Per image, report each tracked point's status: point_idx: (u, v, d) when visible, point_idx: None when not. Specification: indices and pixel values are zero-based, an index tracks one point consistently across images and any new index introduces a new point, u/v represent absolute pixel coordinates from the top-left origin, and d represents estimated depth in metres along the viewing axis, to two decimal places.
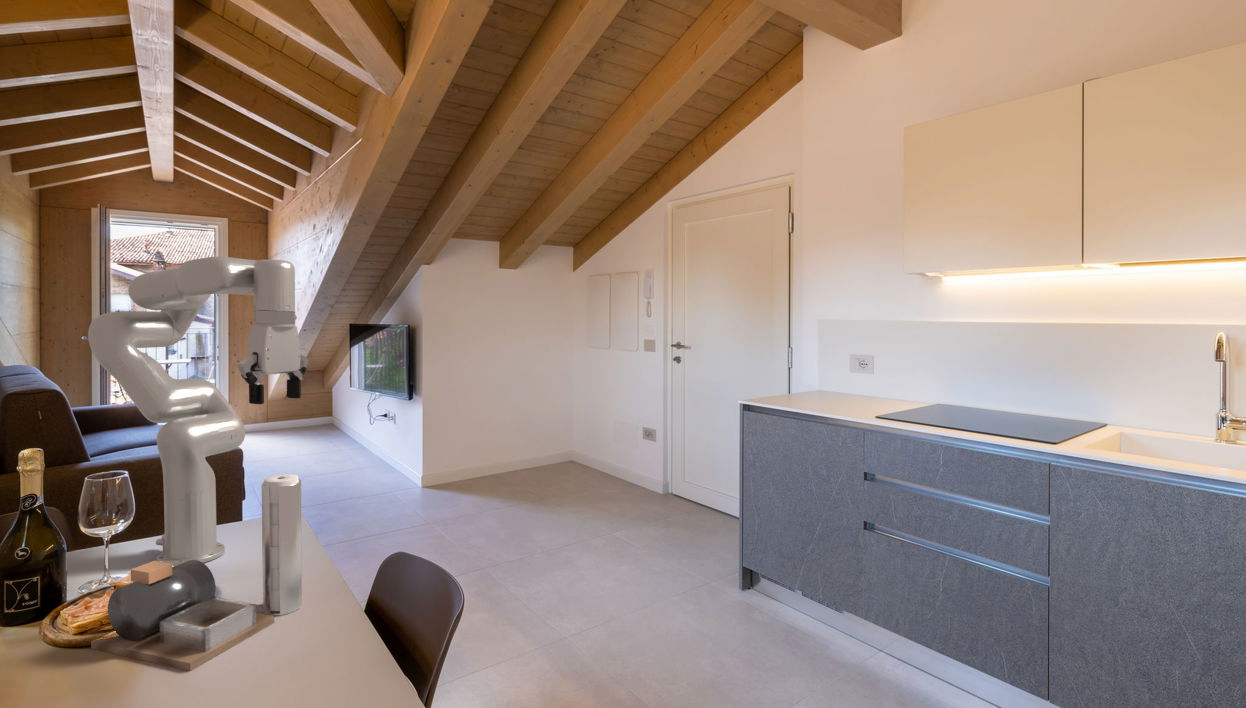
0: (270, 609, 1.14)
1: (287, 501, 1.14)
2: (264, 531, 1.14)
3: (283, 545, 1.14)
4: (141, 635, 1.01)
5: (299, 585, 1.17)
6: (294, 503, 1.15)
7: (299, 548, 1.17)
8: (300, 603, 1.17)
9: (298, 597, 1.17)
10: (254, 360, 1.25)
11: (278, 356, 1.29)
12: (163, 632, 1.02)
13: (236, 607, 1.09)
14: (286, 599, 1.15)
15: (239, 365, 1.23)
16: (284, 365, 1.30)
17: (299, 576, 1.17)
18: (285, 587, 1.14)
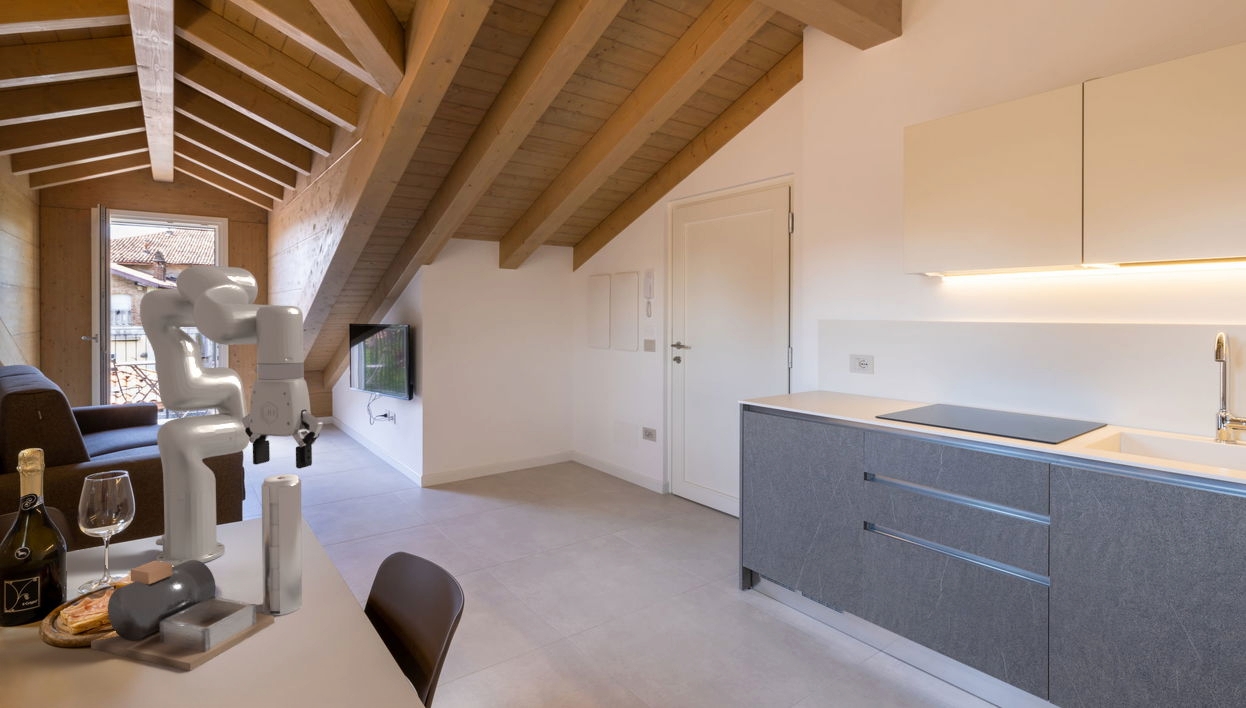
0: (270, 609, 1.14)
1: (287, 501, 1.14)
2: (264, 531, 1.14)
3: (283, 545, 1.14)
4: (141, 635, 1.01)
5: (299, 585, 1.17)
6: (294, 503, 1.15)
7: (299, 548, 1.17)
8: (300, 603, 1.17)
9: (298, 597, 1.17)
10: None
11: None
12: (163, 632, 1.02)
13: (236, 607, 1.09)
14: (286, 599, 1.15)
15: (319, 424, 1.12)
16: None
17: (299, 576, 1.17)
18: (285, 587, 1.14)
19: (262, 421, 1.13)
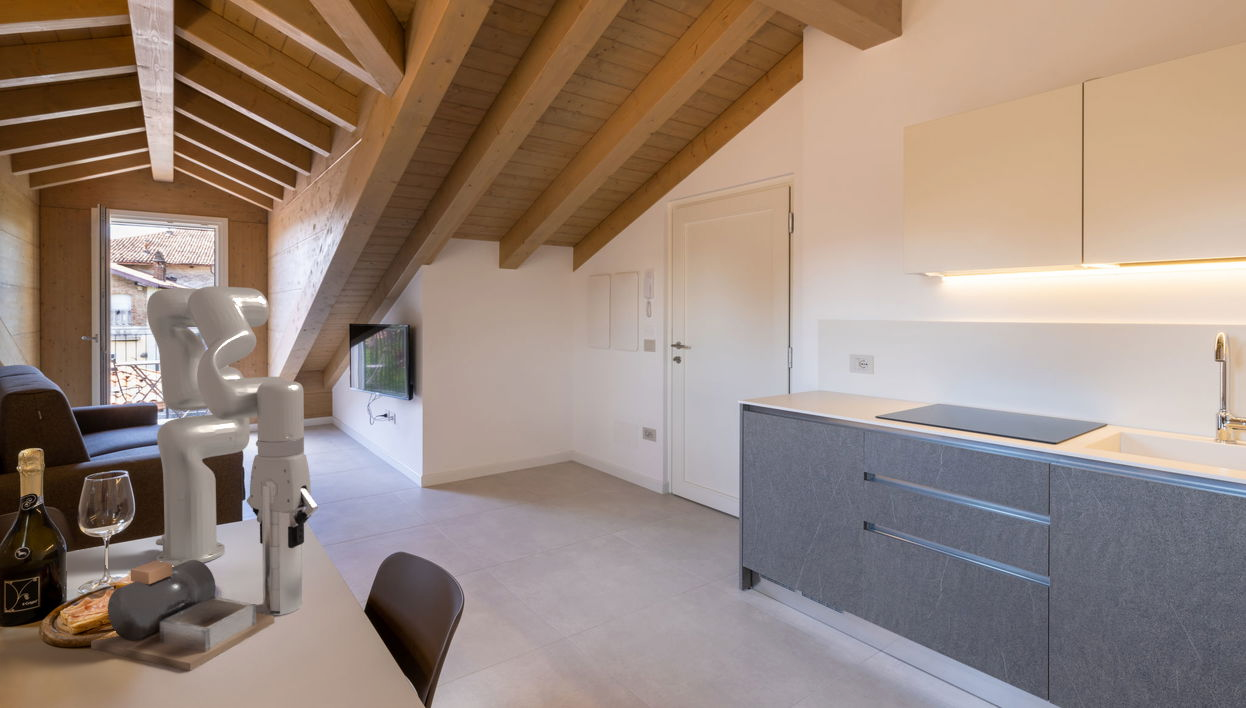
0: (270, 609, 1.14)
1: None
2: (264, 531, 1.14)
3: (283, 545, 1.14)
4: (141, 635, 1.01)
5: (299, 585, 1.17)
6: None
7: (299, 548, 1.17)
8: (300, 603, 1.17)
9: (298, 597, 1.17)
10: None
11: None
12: (163, 632, 1.02)
13: (236, 607, 1.09)
14: (286, 599, 1.15)
15: (314, 509, 1.14)
16: None
17: (299, 576, 1.17)
18: (285, 587, 1.14)
19: (262, 497, 1.14)
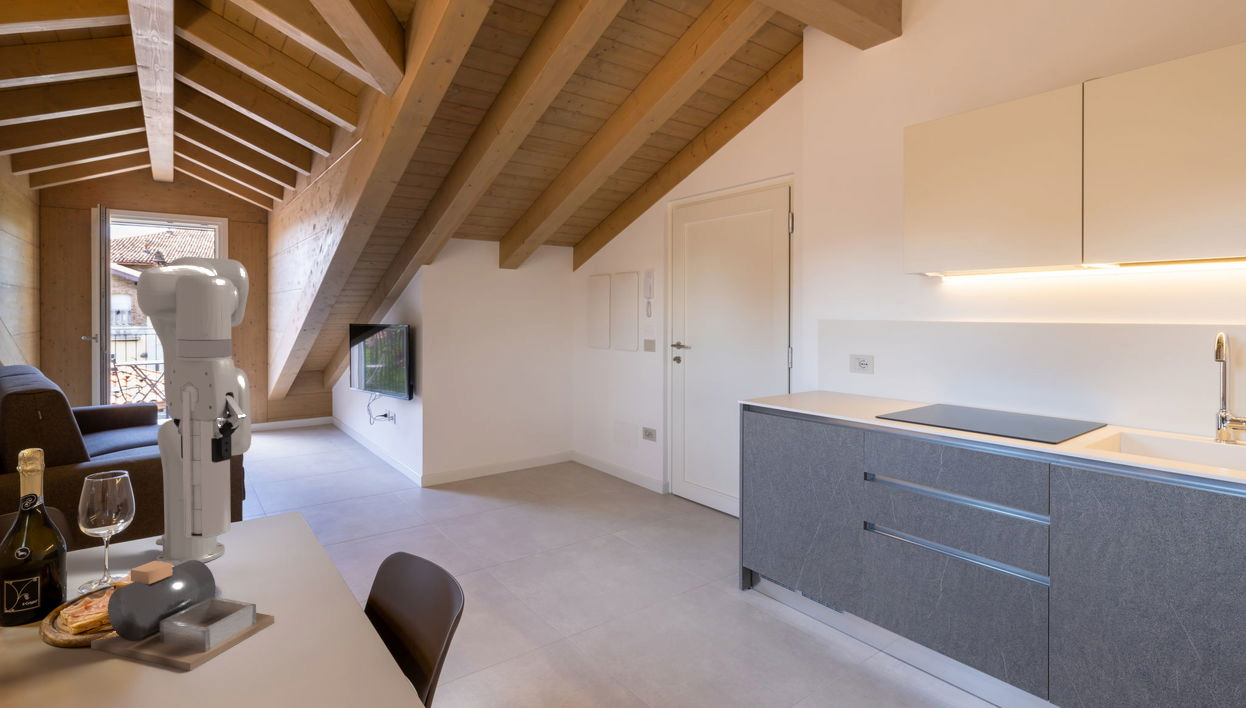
0: (191, 531, 1.01)
1: None
2: (184, 442, 1.01)
3: (206, 459, 1.01)
4: (141, 635, 1.01)
5: (226, 506, 1.04)
6: None
7: (226, 464, 1.04)
8: (227, 527, 1.05)
9: (225, 519, 1.04)
10: None
11: None
12: (163, 632, 1.02)
13: (236, 607, 1.09)
14: (209, 520, 1.02)
15: (241, 418, 1.01)
16: None
17: (226, 496, 1.04)
18: (208, 506, 1.02)
19: (182, 404, 1.01)
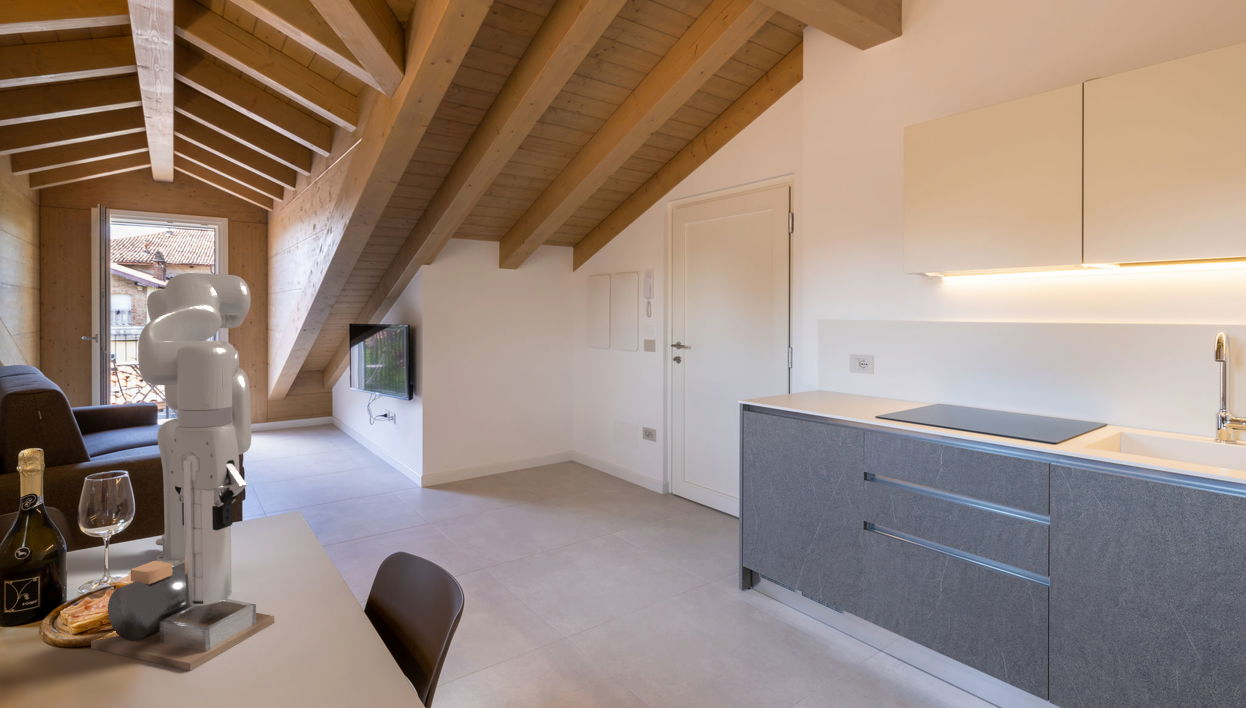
0: (192, 599, 1.02)
1: None
2: (185, 511, 1.01)
3: (207, 527, 1.01)
4: (141, 635, 1.01)
5: (227, 572, 1.05)
6: None
7: (227, 531, 1.04)
8: (228, 592, 1.05)
9: (226, 585, 1.04)
10: None
11: None
12: (163, 632, 1.02)
13: (236, 607, 1.09)
14: (210, 588, 1.02)
15: (242, 486, 1.02)
16: None
17: (227, 562, 1.04)
18: (209, 574, 1.02)
19: (183, 473, 1.01)
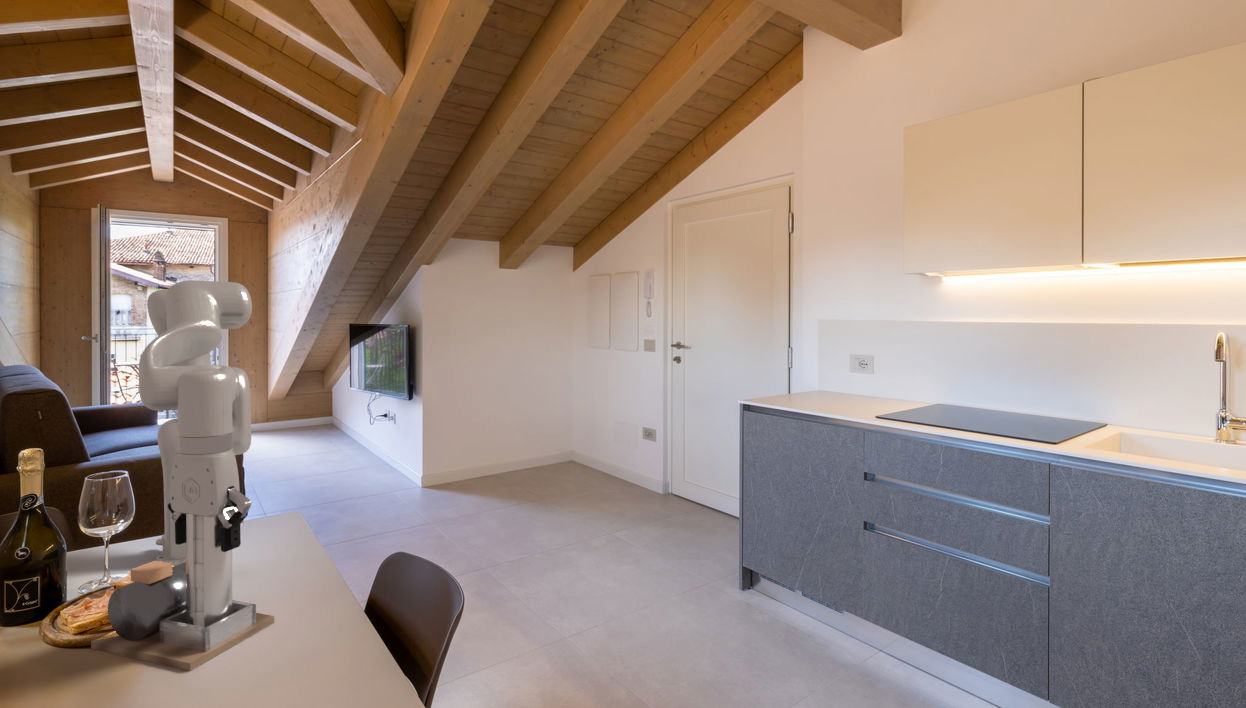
0: None
1: None
2: (188, 546, 1.02)
3: (209, 562, 1.02)
4: (141, 635, 1.01)
5: (228, 606, 1.05)
6: None
7: (228, 565, 1.05)
8: None
9: None
10: None
11: None
12: (163, 632, 1.02)
13: (236, 607, 1.09)
14: (211, 622, 1.03)
15: (247, 503, 1.01)
16: None
17: (228, 596, 1.05)
18: (211, 609, 1.03)
19: (184, 499, 1.02)
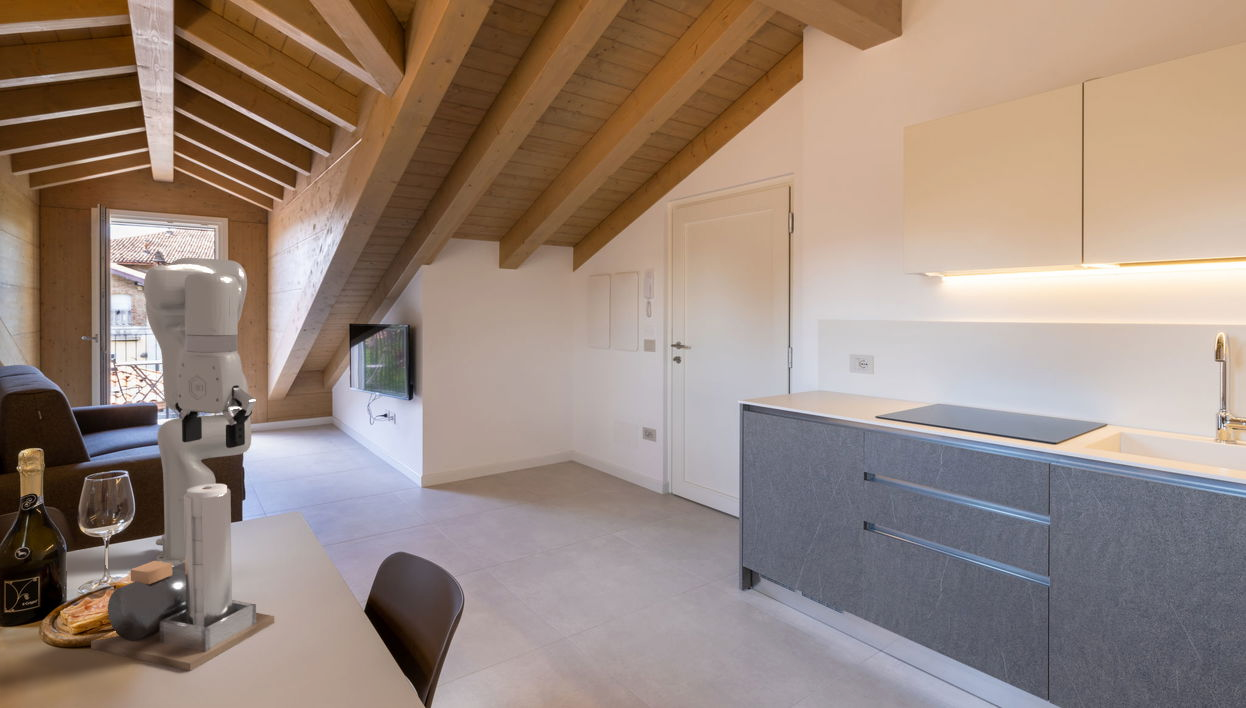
0: None
1: (212, 514, 1.02)
2: (186, 547, 1.02)
3: (208, 563, 1.02)
4: (141, 635, 1.01)
5: (227, 607, 1.05)
6: (221, 516, 1.03)
7: (227, 566, 1.05)
8: None
9: None
10: None
11: None
12: (163, 632, 1.02)
13: (236, 607, 1.09)
14: (211, 623, 1.03)
15: (251, 401, 1.05)
16: None
17: (227, 597, 1.05)
18: (210, 610, 1.03)
19: (190, 396, 1.05)
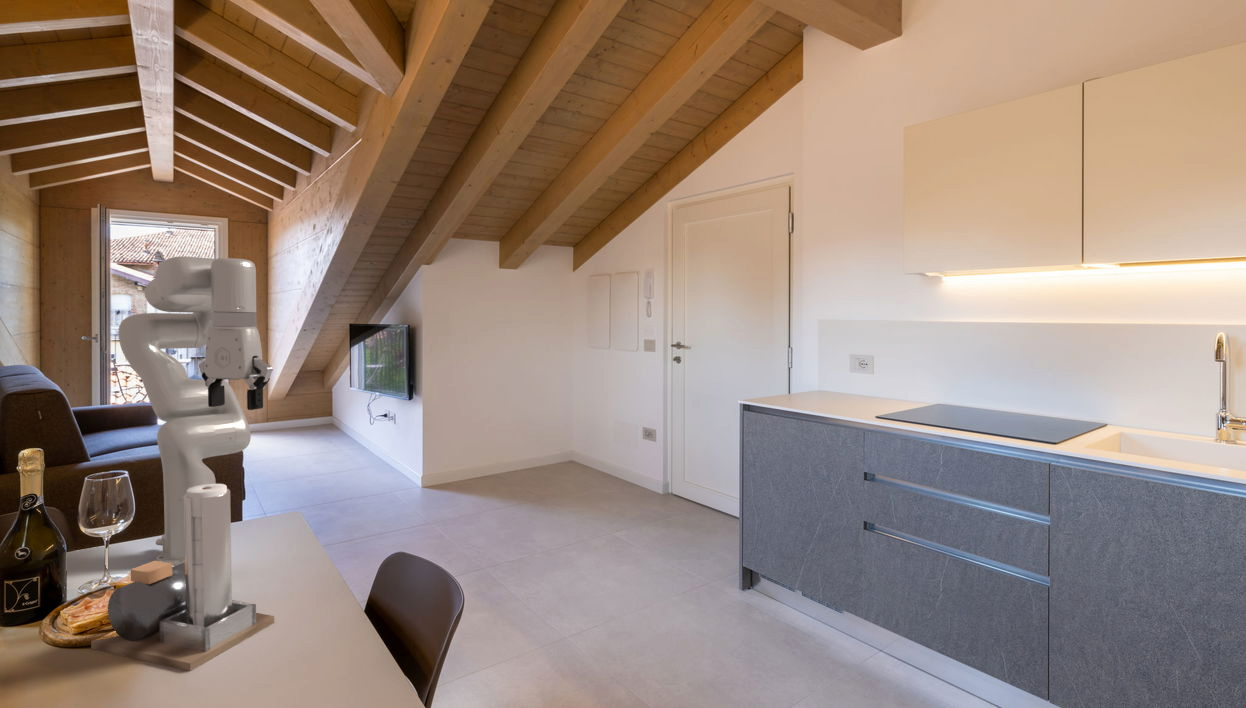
0: None
1: (212, 514, 1.02)
2: (186, 547, 1.02)
3: (207, 563, 1.02)
4: (141, 635, 1.01)
5: (227, 607, 1.05)
6: (220, 516, 1.03)
7: (227, 566, 1.05)
8: None
9: None
10: None
11: None
12: (163, 632, 1.02)
13: (236, 607, 1.09)
14: (211, 623, 1.03)
15: (269, 369, 1.21)
16: None
17: (227, 597, 1.05)
18: (210, 610, 1.03)
19: (216, 365, 1.21)
